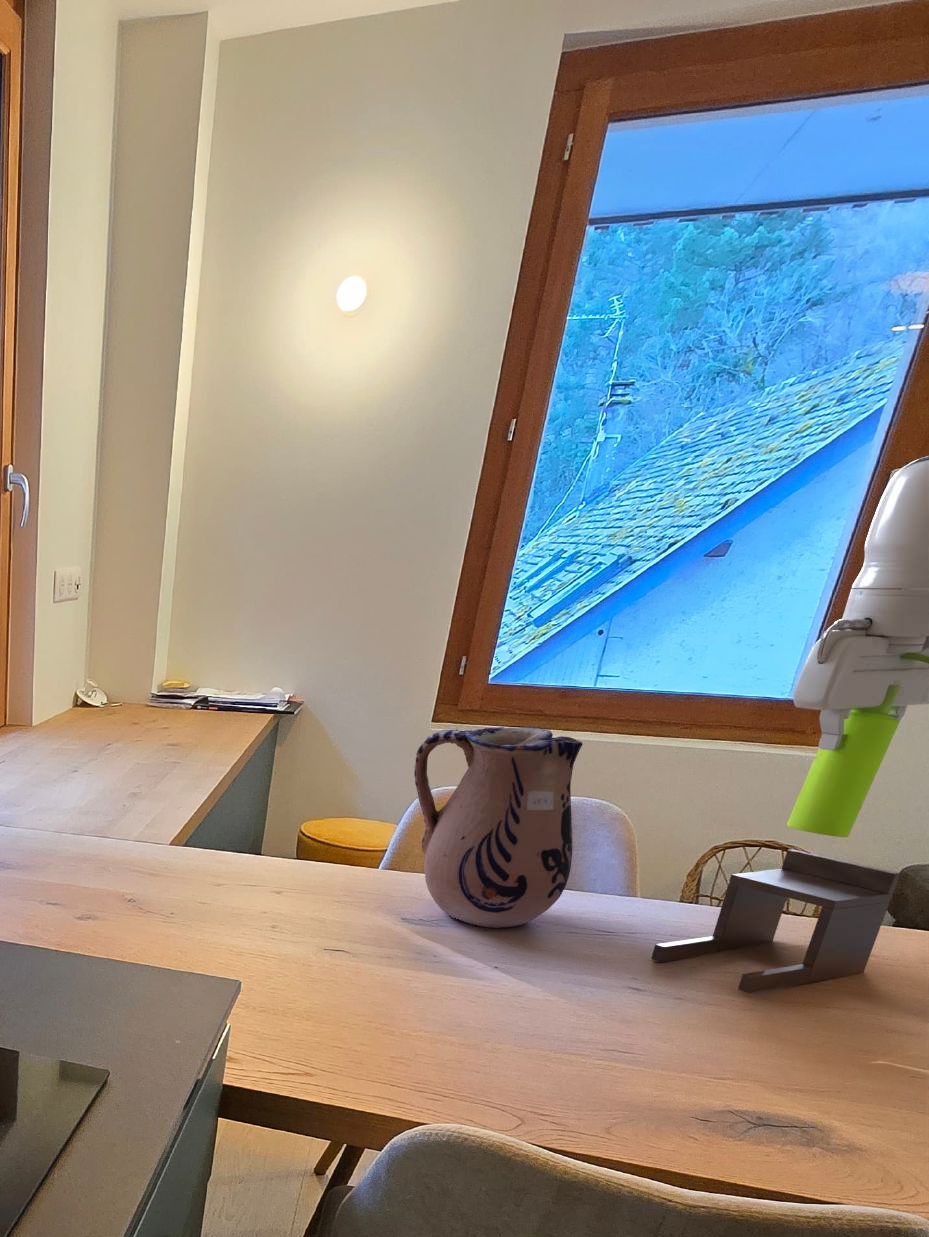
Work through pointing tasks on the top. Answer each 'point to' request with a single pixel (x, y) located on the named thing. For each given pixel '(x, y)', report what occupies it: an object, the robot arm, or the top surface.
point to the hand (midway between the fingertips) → (851, 748)
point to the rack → (834, 884)
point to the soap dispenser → (847, 770)
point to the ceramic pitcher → (500, 825)
